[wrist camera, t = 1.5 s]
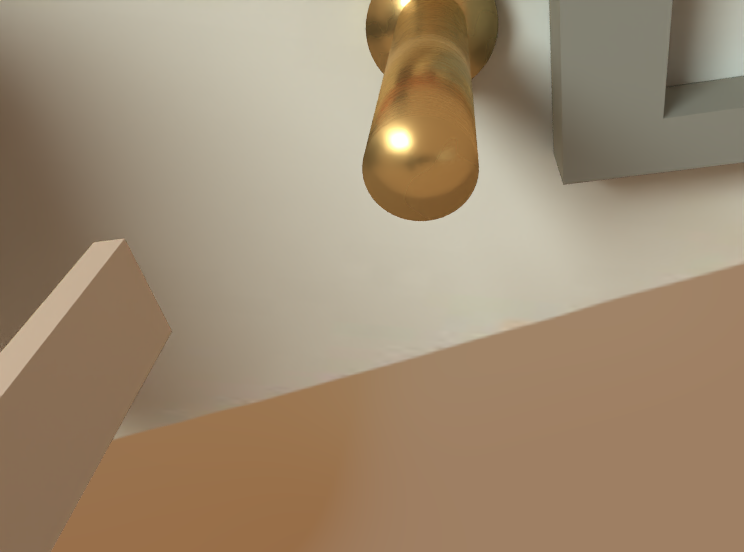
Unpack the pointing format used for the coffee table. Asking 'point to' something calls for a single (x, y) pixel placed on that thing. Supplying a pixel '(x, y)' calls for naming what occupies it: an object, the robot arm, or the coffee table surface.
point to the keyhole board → (632, 96)
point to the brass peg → (426, 103)
